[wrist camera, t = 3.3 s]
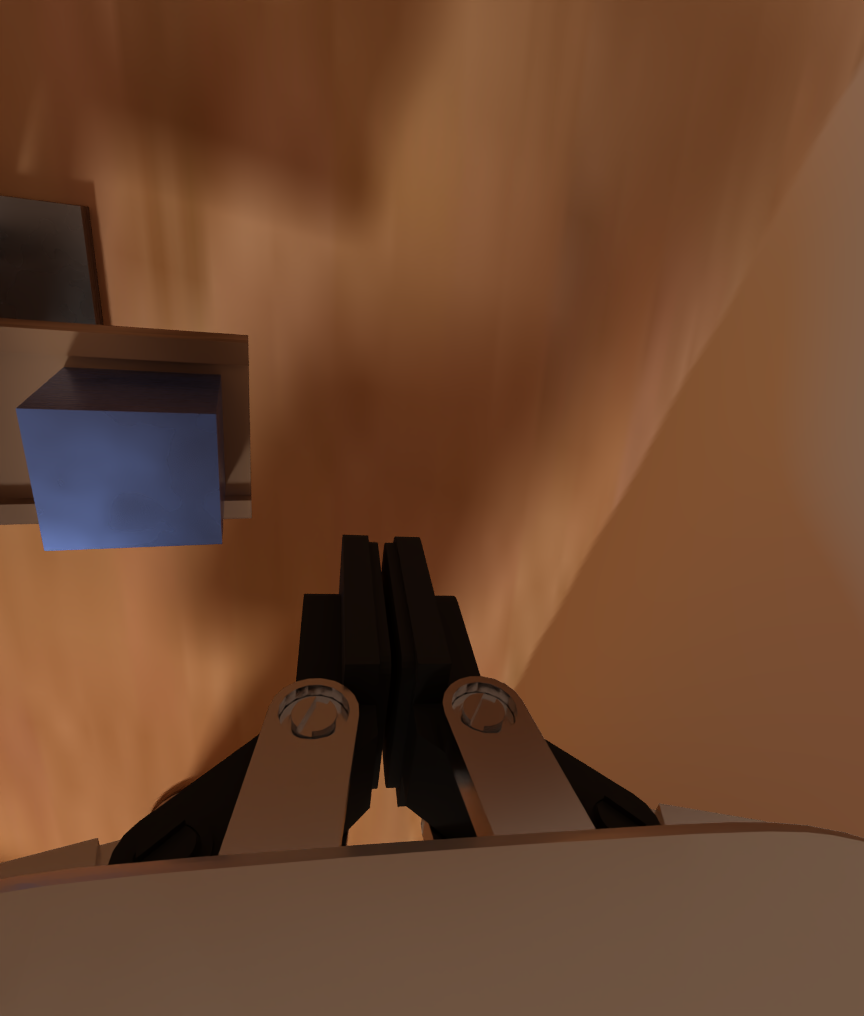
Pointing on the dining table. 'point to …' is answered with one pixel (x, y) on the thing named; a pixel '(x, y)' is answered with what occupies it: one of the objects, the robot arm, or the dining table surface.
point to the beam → (53, 345)
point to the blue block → (126, 458)
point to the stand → (47, 262)
